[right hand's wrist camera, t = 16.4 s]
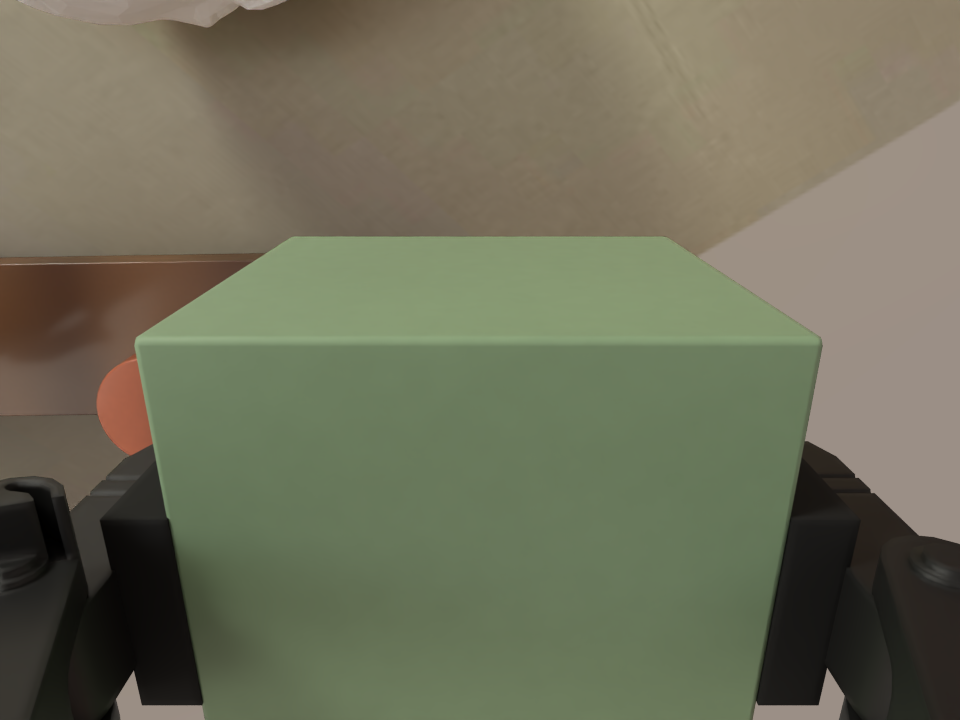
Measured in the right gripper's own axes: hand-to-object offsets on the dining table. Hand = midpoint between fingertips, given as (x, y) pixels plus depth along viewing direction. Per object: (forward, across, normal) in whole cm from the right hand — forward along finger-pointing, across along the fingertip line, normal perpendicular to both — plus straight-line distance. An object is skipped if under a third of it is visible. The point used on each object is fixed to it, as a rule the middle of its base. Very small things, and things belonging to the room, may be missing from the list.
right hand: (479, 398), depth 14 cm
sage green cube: (0, 0, 0) cm, 0 cm away
